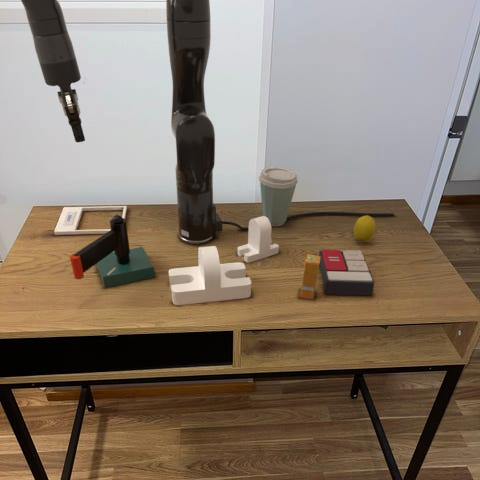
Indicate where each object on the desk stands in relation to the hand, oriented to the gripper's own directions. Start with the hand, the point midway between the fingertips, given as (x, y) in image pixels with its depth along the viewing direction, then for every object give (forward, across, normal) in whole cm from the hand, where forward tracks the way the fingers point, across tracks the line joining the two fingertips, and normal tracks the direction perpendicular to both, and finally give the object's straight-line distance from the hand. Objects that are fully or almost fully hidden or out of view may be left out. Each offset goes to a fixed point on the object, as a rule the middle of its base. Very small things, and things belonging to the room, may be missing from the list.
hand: (80, 140), depth 115 cm
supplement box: (+33, -36, -41) cm, 64 cm away
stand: (+28, -14, -2) cm, 32 cm away
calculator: (+34, -32, -52) cm, 70 cm away
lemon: (+35, -18, -65) cm, 76 cm away
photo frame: (+26, +14, +3) cm, 30 cm away
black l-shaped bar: (+22, -19, +2) cm, 30 cm away
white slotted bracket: (+30, -27, -20) cm, 45 cm away
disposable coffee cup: (+32, 0, -47) cm, 57 cm away
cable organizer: (+32, -15, -36) cm, 50 cm away
